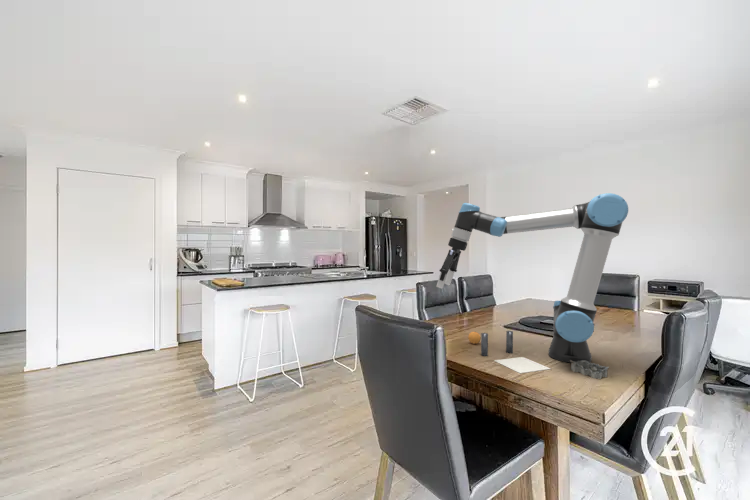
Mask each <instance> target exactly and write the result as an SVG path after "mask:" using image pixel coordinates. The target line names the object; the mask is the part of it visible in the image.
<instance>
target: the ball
mask: <svg viewBox="0 0 750 500" xmlns="http://www.w3.org/2000/svg"><path fill="white" fill-rule="evenodd" d="M467 339H468V342H470V343H471V344H473V345H476V344H479V343H481V342H480V341H481V335H480V333H479V332H476V331H471V332H469V334H468V337H467Z"/></svg>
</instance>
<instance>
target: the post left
mask: <svg viewBox="0 0 750 500" xmlns="http://www.w3.org/2000/svg"><path fill="white" fill-rule="evenodd" d="M480 337H481V339H480V341H481V342H480V344H481V345H480V350H481V351H480V356H482V357H488V356H489V333H487V332H481V335H480Z"/></svg>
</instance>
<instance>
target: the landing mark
mask: <svg viewBox="0 0 750 500" xmlns="http://www.w3.org/2000/svg"><path fill="white" fill-rule="evenodd" d="M493 362H495V363H498V364H499V365H501V366H504V367H505V368H508V369H510V370H512V371H514V372H516V373H518V374H527V373H533V372H534V373H535V372H541V371H547V370H552V368H550V367H548V366H546V365H543V364H541V363H538V362H536V361H533V360H531V359H529V358H526V357H525V356H520V357H519V356H518V357H513V358H503V359H495V360H493Z"/></svg>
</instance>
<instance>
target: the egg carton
mask: <svg viewBox="0 0 750 500" xmlns="http://www.w3.org/2000/svg"><path fill="white" fill-rule="evenodd" d="M570 362H572V363H570V364H571V365H570V370H571V371H572V372H574V373H580V374H581V375H584V376H590V378H591V379H592V378H593V379H598V380H599V379H600V380H601V379H602V378H608V370H609V366H606V365H605V366H604V365H600V364H599V363H594V362H588V361H586V360H582V361H578V362H576V361H575V362H574V361H572V360H570Z"/></svg>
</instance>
